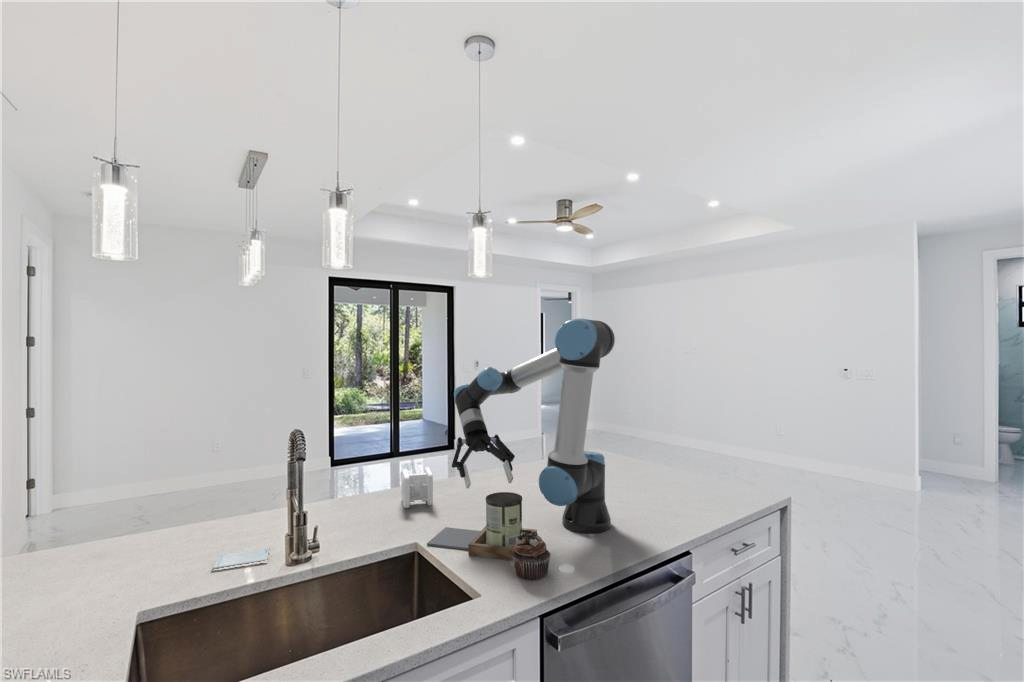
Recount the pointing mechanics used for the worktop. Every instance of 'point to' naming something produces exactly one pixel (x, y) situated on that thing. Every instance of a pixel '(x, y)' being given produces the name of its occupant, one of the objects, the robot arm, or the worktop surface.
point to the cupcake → (530, 556)
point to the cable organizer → (417, 487)
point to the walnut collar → (490, 547)
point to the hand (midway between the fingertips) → (490, 483)
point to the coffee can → (503, 518)
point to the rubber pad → (453, 538)
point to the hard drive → (241, 558)
